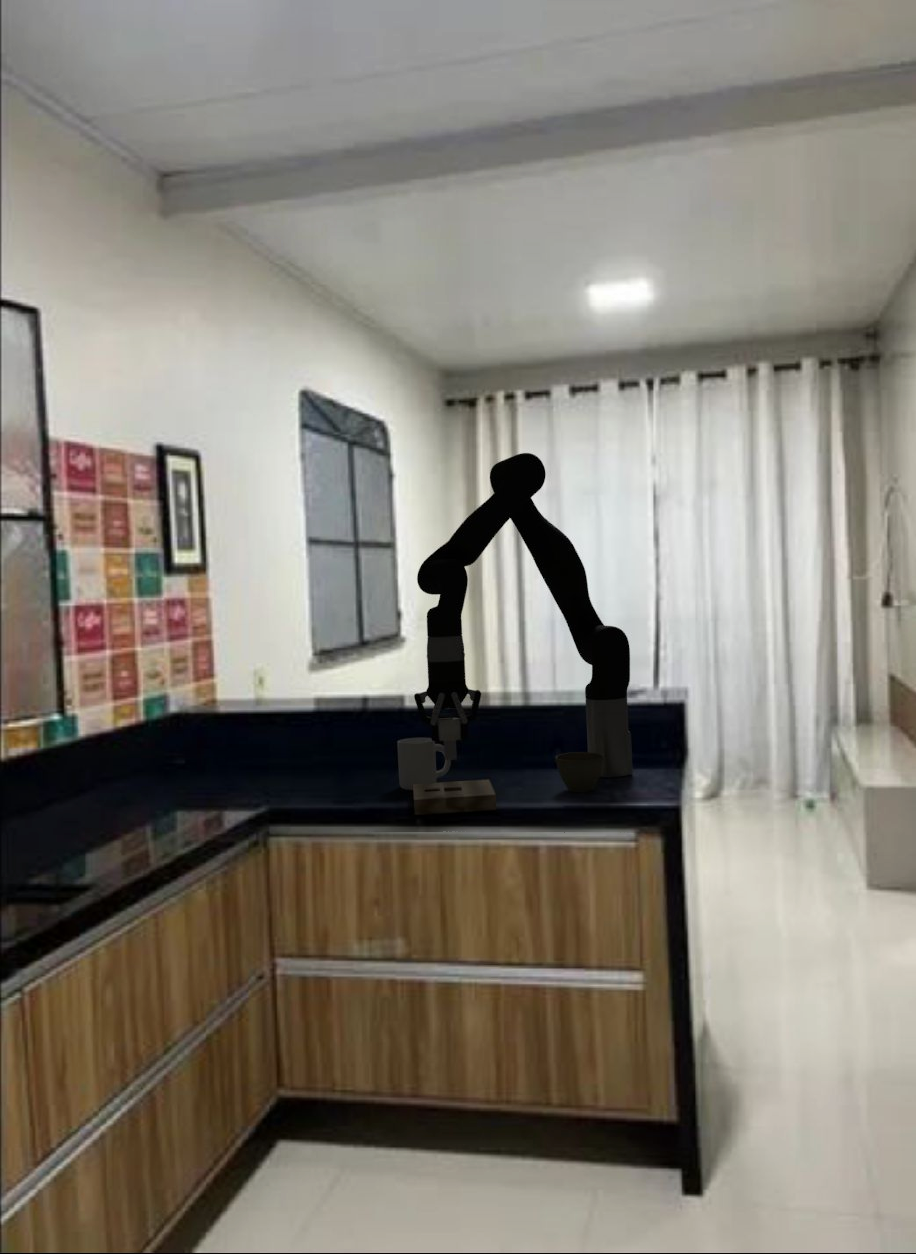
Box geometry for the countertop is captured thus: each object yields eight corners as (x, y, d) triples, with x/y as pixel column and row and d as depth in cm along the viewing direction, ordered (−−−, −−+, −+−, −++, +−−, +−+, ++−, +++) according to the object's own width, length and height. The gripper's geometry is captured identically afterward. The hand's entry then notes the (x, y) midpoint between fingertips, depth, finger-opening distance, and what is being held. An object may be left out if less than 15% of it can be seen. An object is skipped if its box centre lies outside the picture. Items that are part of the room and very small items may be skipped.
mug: (446, 779, 248) (444, 734, 248) (458, 786, 241) (455, 739, 240) (395, 785, 245) (392, 739, 244) (405, 792, 237) (402, 744, 236)
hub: (489, 793, 230) (488, 778, 230) (496, 809, 214) (495, 793, 214) (413, 798, 230) (412, 782, 229) (414, 815, 214) (413, 798, 213)
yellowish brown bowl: (549, 793, 227) (547, 759, 227) (567, 784, 236) (566, 751, 236) (594, 796, 223) (593, 761, 222) (611, 786, 231) (610, 752, 231)
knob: (461, 756, 224) (460, 716, 224) (463, 760, 219) (461, 719, 219) (438, 757, 224) (436, 717, 224) (439, 761, 219) (437, 720, 219)
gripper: (480, 655, 225) (483, 738, 226) (410, 658, 224) (414, 741, 225) (482, 658, 217) (486, 743, 218) (410, 661, 217) (414, 747, 217)
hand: (449, 742), depth 221 cm, fingers closed on knob, 4 cm apart
